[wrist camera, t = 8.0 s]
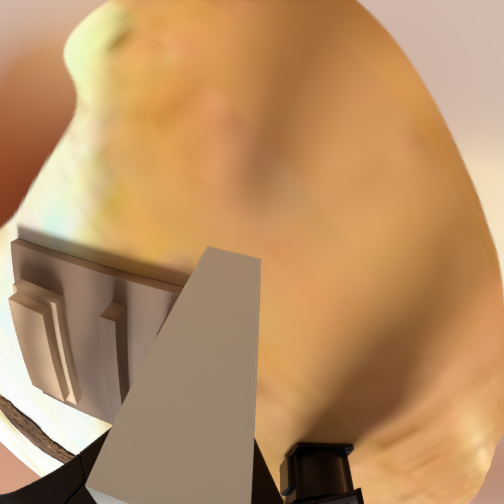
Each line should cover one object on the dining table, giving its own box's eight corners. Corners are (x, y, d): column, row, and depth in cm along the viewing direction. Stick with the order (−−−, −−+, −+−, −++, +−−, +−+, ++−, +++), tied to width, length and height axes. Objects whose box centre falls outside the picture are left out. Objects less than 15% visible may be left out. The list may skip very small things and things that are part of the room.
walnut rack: (225, 297, 19) (219, 323, 16) (195, 441, 25) (190, 464, 22) (18, 238, 18) (-6, 250, 15) (47, 387, 24) (35, 403, 21)
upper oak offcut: (51, 307, 17) (42, 315, 16) (69, 393, 21) (64, 401, 20) (17, 291, 17) (8, 298, 16) (38, 377, 21) (32, 385, 19)
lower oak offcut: (64, 296, 18) (55, 303, 17) (81, 397, 22) (76, 404, 21) (21, 278, 18) (12, 284, 17) (43, 378, 22) (38, 385, 21)
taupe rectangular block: (261, 258, 11) (249, 528, 2) (225, 390, 13) (199, 566, 4) (207, 246, 11) (84, 485, 2) (185, 380, 13) (135, 551, 4)
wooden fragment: (106, 473, 32) (104, 478, 31) (83, 477, 34) (82, 481, 33) (-18, 366, 26) (-22, 370, 25) (-22, 386, 29) (-25, 389, 28)
